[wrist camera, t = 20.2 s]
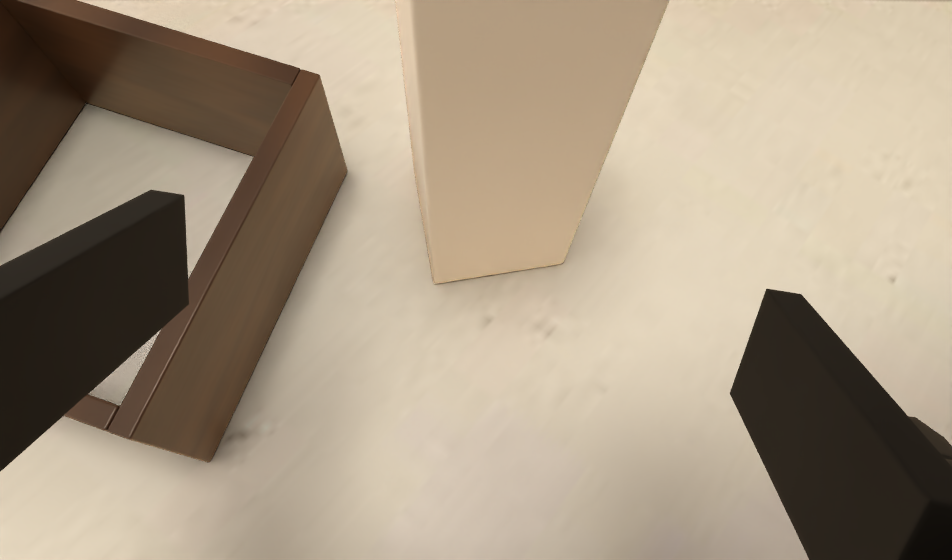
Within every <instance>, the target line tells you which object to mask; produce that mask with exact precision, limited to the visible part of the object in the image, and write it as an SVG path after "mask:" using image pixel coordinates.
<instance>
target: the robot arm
mask: <svg viewBox="0 0 952 560" xmlns="http://www.w3.org/2000/svg"><path fill="white" fill-rule="evenodd" d="M188 305H189V292H188V269H187V246H186V224H185V201H184V195H180V194H174V193H168V192H162V191H155V190H150V191H148V192H146V193H144V194H142V195H140V196H138V197H136V198H134V199H132V200H130V201H128V202H126V203H124V204H122V205H120V206H118V207H116V208H114V209H112V210H110V211H108V212H106V213H104V214H102V215H100V216H98V217H96V218H94V219H92V220H90V221H88V222H86V223H84V224H82V225H80V226H78V227H76V228H74V229H72V230H70V231H68V232H66V233H64V234H62V235H60V236H59V237H57V238H55V239H53V240H51V241H49V242H47V243H45V244H43V245H41V246H39V247H37V248H35V249H33V250H31V251H29V252H27V253H25V254H23V255H21V256H19V257H17V258H15V259H13V260H11V261H9V262H7V263H5V264H3V265H1V266H0V471H1V470H3V469H4V468H5V467H6V466H7V465H8V464H9V463H10V462H12V461H13V460H14V459H15V458H16V457H17V456H18V455H20V454H21V453H22V452H23V451H24V450H25V449H26V448H27V447H29V446H30V445H31V444H32V443H33V442H34V441H35V440H36V439H38V438H39V437H40V436H41V435H42V434H43V433H44V432H45V431H47V430H48V429H49V428H50V427H51V426H52V425H53V424H54V423H56V422H57V421H58V420H59V419H60V418H61V417H62V416H64V415H65V414H66V413H67V412H68V411H69V410H70V409H71V408H73V407H74V406H75V405H76V404H77V403H78V402H79V401H80V400H82V399H83V398H84V397H85V396H86V395H87V394H88V393H89V392H91V391H92V390H93V389H94V388H95V387H96V386H97V385H98V384H100V383H101V382H102V381H103V380H104V379H105V378H106V377H107V376H109V375H110V374H111V373H112V372H113V371H114V370H115V369H117V368H118V367H119V366H120V365H121V364H122V363H123V362H124V361H126V360H127V359H128V358H129V357H130V356H131V355H132V354H133V353H135V352H136V351H137V350H138V349H139V348H140V347H141V346H142V345H144V344H145V343H146V342H147V341H148V340H149V339H150V338H151V337H153V336H154V335H155V334H156V333H157V332H158V331H159V330H160V329H162V328H163V327H164V326H165V325H166V324H167V323H168V322H170V321H171V320H172V319H173V318H174V317H175V316H176V315H177V314H179V313H180V312H181V311H182V310H183V309H184V308H185V307H186V306H188ZM730 395H731V397H732V399H733V401H734V403H735V405H736V407H737V409H738V411H739V413H740V416H741V418H742V420H743V422H744V424H745V426H746V428H747V430H748V432H749V434H750V436H751V439H752V441H753V443H754V445H755V447H756V449H757V451H758V453H759V455H760V457H761V459H762V461H763V464H764V466H765V468H766V470H767V472H768V474H769V476H770V478H771V480H772V482H773V484H774V487H775V489H776V491H777V493H778V495H779V497H780V499H781V501H782V503H783V505H784V507H785V510H786V512H787V514H788V516H789V518H790V520H791V522H792V524H793V526H794V528H795V530H796V533H797V535H798V537H799V539H800V541H801V543H802V545H803V547H804V549H805V551H806V553H807V556H808V558H809V560H952V446H951V445H950V444H949V442H948V441H947V440H946V439H945V438H944V437H943V436H941V435H940V434H938V433H937V432H935V431H934V430H933V429H931V428H930V427H928V426H927V425H926V424H924V423H923V422H921V421H920V420H918V419H917V418H915V417H909V416H907V415H906V414H905V412H904V411H903V410H902V409H901V408H900V407H899V406H898V404H897V403H896V402H895V401H894V400H893V399H892V398H891V396H890V395H889V394H888V393H887V392H886V391H885V390H884V388H883V387H882V386H881V385H880V384H879V383H878V382H877V380H876V379H875V378H874V377H873V376H872V375H871V374H870V372H869V371H868V370H867V369H866V368H865V367H864V365H863V364H862V363H861V362H860V361H859V360H858V359H857V357H856V356H855V355H854V354H853V353H852V352H851V351H850V349H849V348H848V347H847V346H846V345H845V344H844V343H843V341H842V340H841V339H840V338H839V337H838V336H837V335H836V333H835V332H834V331H833V330H832V329H831V328H830V327H829V325H828V324H827V323H826V322H825V321H824V320H823V319H822V317H821V316H820V315H819V314H818V313H817V312H816V311H815V309H814V308H813V307H812V306H811V305H810V304H809V303H808V301H807V300H806V299H805V298H804V297H803V296H802V295H801V294H796V293H790V292H784V291H777V290H771V289H766V292H765V295H764V297H763V300H762V303H761V306H760V309H759V312H758V315H757V317H756V320H755V323H754V326H753V329H752V332H751V335H750V337H749V340H748V343H747V346H746V349H745V352H744V355H743V357H742V360H741V363H740V366H739V369H738V372H737V375H736V377H735V380H734V383H733V386H732V389H731V392H730Z"/></svg>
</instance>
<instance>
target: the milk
mask: <svg viewBox="0 0 952 560" xmlns="http://www.w3.org/2000/svg"><path fill="white" fill-rule="evenodd" d="M395 3H396V12H397V21H398V30H399V40H400V49H401V58H402V67H403V76H404V85H405V94H406V103H407V112H408V121H409V130H410V139H411V148H412V157H413V166H414V173H415V179H416V185H417V191H418V197H419V203H420V208H421V214H422V220H423V226H424V232H425V238H426V244H427V250H428V256H429V261H430V267H431V273H432V279H433V282H434V283H435V284H438V283H444V282H450V281H457V280H463V279H469V278H475V277H482V276H488V275H494V274H501V273H507V272H513V271H520V270H526V269H532V268H538V267H545V266H551V265H557V264H562V263H563V262H564V260H565V258H566V255H567V253H568V251H569V248H570V246H571V243H572V241H573V238H574V236H575V233H576V231H577V228H578V226H579V223H580V221H581V218H582V216H583V213H584V211H585V208H586V206H587V203H588V201H589V199H590V196H591V194H592V191H593V189H594V186H595V184H596V181H597V179H598V176H599V174H600V171H601V169H602V166H603V164H604V161H605V159H606V156H607V154H608V151H609V149H610V147H611V144H612V142H613V139H614V137H615V134H616V132H617V129H618V127H619V124H620V122H621V119H622V117H623V114H624V112H625V109H626V107H627V104H628V102H629V99H630V97H631V94H632V92H633V90H634V87H635V85H636V82H637V80H638V77H639V75H640V72H641V70H642V67H643V65H644V62H645V60H646V57H647V55H648V52H649V50H650V47H651V45H652V42H653V40H654V38H655V35H656V33H657V30H658V28H659V25H660V23H661V20H662V18H663V15H664V13H665V10H666V8H667V5H668V3H669V0H395Z"/></svg>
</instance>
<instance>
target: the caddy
mask: <svg viewBox="0 0 952 560" xmlns="http://www.w3.org/2000/svg"><path fill="white" fill-rule="evenodd" d="M85 103H89V104H92V105H95V106H98V107H101V108H105V109H108V110H111V111H114V112H117V113H120V114H123V115H126V116H130V117H133V118H136V119H139V120H142V121H145V122H148V123H151V124H155V125H158V126H161V127H164V128H167V129H170V130H173V131H176V132H180V133H183V134H186V135H189V136H192V137H195V138H198V139H202V140H205V141H208V142H211V143H214V144H217V145H220V146H223V147H227V148H230V149H233V150H236V151H239V152H242V153H245V154H248V155H252V156H254V158H253V160H252V161H251V163H250V165H249V167H248V169H247V171H246V173H245V175H244V176H243V178H242V180H241V182H240V184H239V186H238V188H237V189H236V191H235V193H234V195H233V197H232V199H231V201H230V203H229V204H228V206H227V208H226V210H225V212H224V214H223V216H222V217H221V219H220V221H219V223H218V225H217V227H216V229H215V230H214V232H213V234H212V236H211V238H210V240H209V242H208V244H207V245H206V247H205V249H204V251H203V253H202V255H201V257H200V258H199V260H198V262H197V264H196V266H195V268H194V270H193V271H192V273H191V275H190V277H189V279H188V292H189V305H188V306H186V307H185V308H184V309H183V310H182V311H181V312H180V313H179V314H177V315H176V316H175V317H174V318H173V319H172V320H171V321H170V322H168V323H167V324H166V325H165V326H164V327H163V328H162V329H161V331H160V333H159V335H158V337H157V339H156V340H155V342H154V344H153V346H152V348H151V350H150V352H149V354H148V355H147V357H146V359H145V361H144V363H143V365H142V367H141V368H140V370H139V372H138V374H137V376H136V378H135V380H134V381H133V383H132V385H131V387H130V389H129V391H128V393H127V395H126V396H125V398H124V400H123V402H122V404H121V406H119V405H116V404H113V403H110V402H108V401H105V400H102V399H99V398H96V397H94V396H91V395H88V394H87V395H86V396H85V397H84V398H83V399H82V400H80V401H79V402H78V403H77V404H76V405H75V406H74V407H73V408H71V409H70V410H69V411H68V412H67V413H66V414H65V415H64V416H66V417H69V418H71V419H74V420H77V421H80V422H82V423H85V424H88V425H91V426H93V427H96V428H99V429H101V430H104V431H108V432H110V433H112V434H115V435H118V436H121V437H123V438H126V439H129V440H132V441H136V442H139V443H143V444H146V445H149V446H153V447H156V448H160V449H163V450H167V451H170V452H174V453H177V454H180V455H184V456H187V457H191V458H194V459H198V460H201V461H205V462H210V461H211V459H212V457H213V455H214V453H215V451H216V449H217V447H218V445H219V442H220V440H221V438H222V436H223V434H224V432H225V430H226V428H227V426H228V423H229V421H230V419H231V417H232V415H233V413H234V411H235V409H236V406H237V404H238V402H239V400H240V398H241V396H242V394H243V392H244V389H245V387H246V385H247V383H248V381H249V379H250V377H251V375H252V372H253V370H254V368H255V366H256V364H257V362H258V360H259V358H260V355H261V353H262V351H263V349H264V347H265V345H266V343H267V341H268V339H269V336H270V334H271V332H272V330H273V328H274V326H275V324H276V322H277V319H278V317H279V315H280V313H281V311H282V309H283V307H284V305H285V302H286V300H287V298H288V296H289V294H290V292H291V290H292V288H293V285H294V283H295V281H296V279H297V277H298V275H299V273H300V271H301V269H302V266H303V264H304V262H305V260H306V258H307V256H308V254H309V252H310V249H311V247H312V245H313V243H314V241H315V239H316V237H317V235H318V232H319V230H320V228H321V226H322V224H323V222H324V220H325V218H326V215H327V213H328V211H329V209H330V207H331V205H332V203H333V201H334V198H335V196H336V194H337V192H338V190H339V188H340V186H341V184H342V182H343V179H344V177H345V175H346V173H347V167H346V164H345V160H344V157H343V153H342V150H341V146H340V143H339V140H338V136H337V133H336V129H335V126H334V122H333V119H332V116H331V112H330V109H329V105H328V102H327V98H326V95H325V91H324V88H323V85H322V81H321V78H320V75H318V74H315V73H312V72H309V71H305V70H300V68H297V67H294V66H290V65H287V64H284V63H280V62H277V61H274V60H271V59H267V58H264V57H261V56H257V55H254V54H251V53H248V52H244V51H241V50H238V49H235V48H231V47H228V46H225V45H221V44H218V43H215V42H212V41H208V40H205V39H202V38H198V37H195V36H192V35H189V34H185V33H182V32H179V31H176V30H172V29H169V28H166V27H162V26H159V25H156V24H153V23H149V22H146V21H143V20H139V19H136V18H133V17H130V16H126V15H123V14H120V13H117V12H113V11H110V10H107V9H103V8H100V7H97V6H94V5H90V4H87V3H84V2H80V1H77V0H0V230H1V229H2V227H3V226H4V225H5V223H6V222H7V220H8V219H9V217H10V216H11V214H12V213H13V211H14V210H15V208H16V207H17V205H18V204H19V202H20V201H21V199H22V198H23V196H24V195H25V193H26V192H27V190H28V189H29V187H30V186H31V184H32V183H33V181H34V180H35V178H36V177H37V175H38V174H39V172H40V171H41V169H42V168H43V166H44V165H45V163H46V162H47V160H48V159H49V157H50V156H51V154H52V153H53V151H54V150H55V148H56V147H57V145H58V144H59V142H60V141H61V139H62V138H63V136H64V135H65V133H66V132H67V130H68V129H69V127H70V126H71V124H72V123H73V121H74V120H75V118H76V117H77V115H78V114H79V112H80V111H81V109H82V108H83V106H84V105H85Z"/></svg>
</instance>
